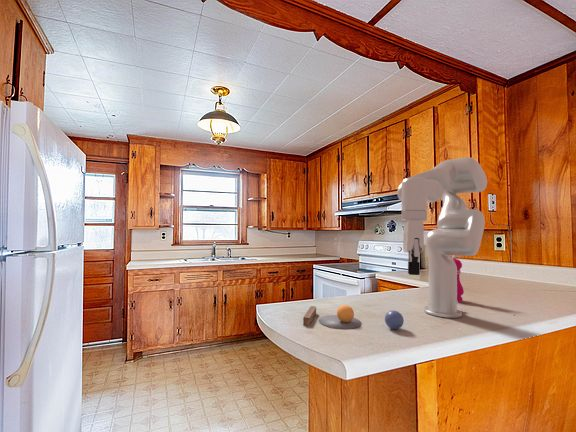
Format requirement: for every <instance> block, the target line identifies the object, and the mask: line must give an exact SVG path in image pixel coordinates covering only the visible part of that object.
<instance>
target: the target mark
mask: <svg viewBox="0 0 576 432" xmlns="http://www.w3.org/2000/svg"><path fill="white" fill-rule="evenodd" d="M318 323H319V324H321V325H322V326H324V327H326V328H331V329H337V330H350V329H357V328H359V327H361V326H362V322H361V320H359V319H358V318H356V317H353V319H352V320H351V321H350V322H347V323H345V322H342V321H340V320H339V318H338V316H337V314H329V315H328V314H327V315H325V316H324V315H323V316H321V317H320V318H318Z"/></svg>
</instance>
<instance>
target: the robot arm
mask: <svg viewBox="0 0 576 432" xmlns="http://www.w3.org/2000/svg"><path fill="white" fill-rule="evenodd" d="M487 185H488V178H487V175H486V173H485V171H484V170H483V168H482V165H481V164H480V163H479V162H478V160H477V159H476V158H473V157H470V156H469V157H461V158H460V157H459V158H453V159H452V158H451V159H447V160H443V161H441V162H439V163H438V164H437V165H435V166H434V167H433V168H432V169H429V170H426V171H423V172H420V173H418V174H415V175H412V176H409V177H406V178H404V179H403V180H402V181H401V183H399V185H398V187H397V190H396V191H397V192H396V193H397V198H398V200H399V201H400V202H401V222H404V223H403V237H402V238H403V243H402V249H403V251H404V252H406V253H407V254H408V261H407V274H408V275H411V276H420V274H421V271H420V270H421V269H420V268H421V267H420V264H421V262H420V259H421V258H420V257H421V256H420V255H421V254H422V253H423V252H424V247H425V244H426V249H427V256H428V305H426V306H424V308H423V311H424V313H426V314H428V315H431V316H435V317H439V318H447V319H448V318H449V319H451V318H452V319H457V318H462V316H463V312H462V311H461V310H459V309H458V305H459V302H458V301H457V266H456V264H455V262H454V261H453V258H452V256H453V255H455V256H459V257H460V256H462V257H463V256H464V257H472V256H475V255H477V254H478V253H479V250H480V246H481V244H482V243H481V242H482V239H483V234H484V230H485V226H486V225H485V219H486V218H485V215H484V214H483V212H482V211H481V210H479V209H476V208H475V209H474V208H473V209H472V208H467V203H466V202H465V200H464V199H462V198H461V197H460V196H459V195H458V194H469V193H470V194H471V193H475V194H476V193H482V192H483V191H485V189H487ZM441 199H442V206H441V207H442V208H441V209H440V213H439V216H438V219H437V221H436V226H437V227H436V228H435V229H432V230H430V231H428V233H427V234H426V237H425V231H424V229H425V226H424V222H428V203H435V202H438V201H440V200H441ZM424 238H425V239H424ZM424 243H425V244H424Z"/></svg>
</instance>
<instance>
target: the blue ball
mask: <svg viewBox="0 0 576 432" xmlns="http://www.w3.org/2000/svg"><path fill="white" fill-rule="evenodd" d="M384 322H385V325H386V326H387V327H388V328H390V329H391V330H399V329H400V328H402V327H403V325H404V317H403V315H402V313H400V312H399V311H397V310H389V311H387V312H386V314H385V316H384Z"/></svg>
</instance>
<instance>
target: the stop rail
mask: <svg viewBox="0 0 576 432" xmlns="http://www.w3.org/2000/svg"><path fill="white" fill-rule="evenodd" d="M316 315H317V306H313V305H311V306H310V307H309V308H308V310H307V311H306V312H305V314H304V315H303V317H302V319H303V321H302V324H303V326H307V327H310V325H311V323H312V321H313V320H314V318H315V316H316Z"/></svg>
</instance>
